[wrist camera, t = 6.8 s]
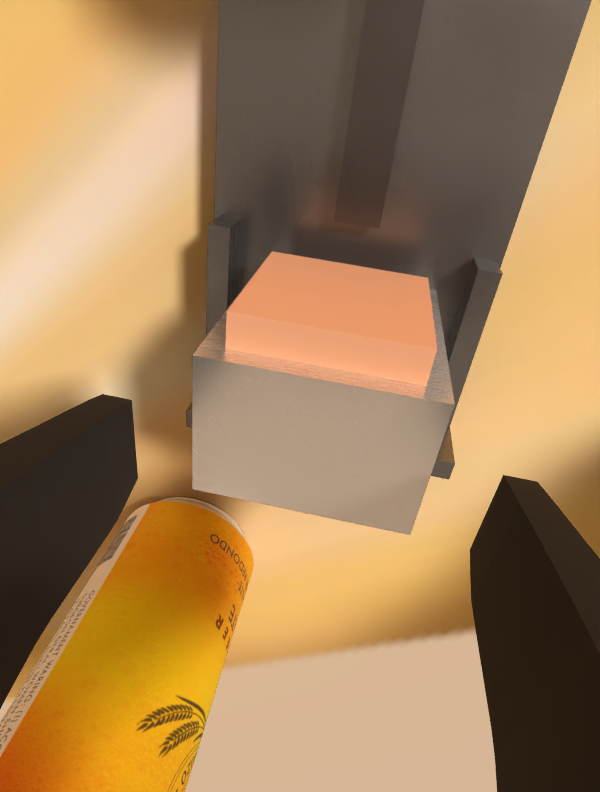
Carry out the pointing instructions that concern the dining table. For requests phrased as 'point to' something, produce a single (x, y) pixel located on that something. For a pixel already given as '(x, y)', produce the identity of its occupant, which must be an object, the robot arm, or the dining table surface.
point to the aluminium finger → (323, 393)
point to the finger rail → (384, 143)
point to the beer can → (133, 659)
